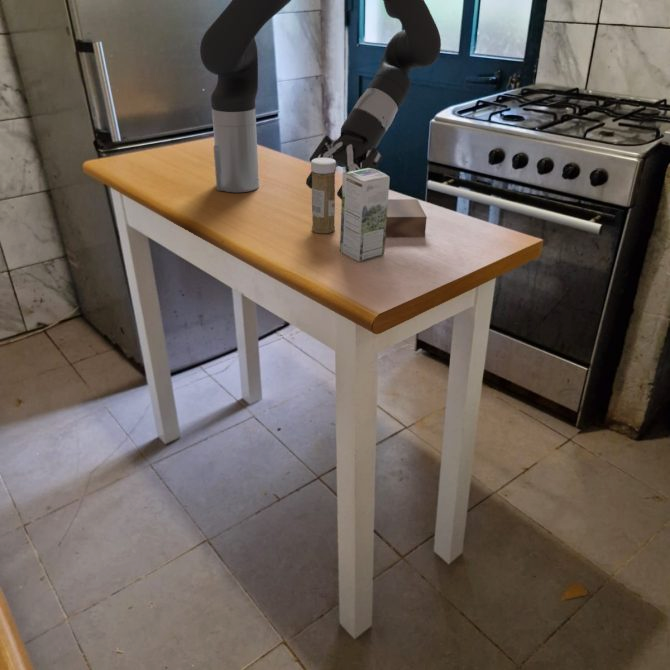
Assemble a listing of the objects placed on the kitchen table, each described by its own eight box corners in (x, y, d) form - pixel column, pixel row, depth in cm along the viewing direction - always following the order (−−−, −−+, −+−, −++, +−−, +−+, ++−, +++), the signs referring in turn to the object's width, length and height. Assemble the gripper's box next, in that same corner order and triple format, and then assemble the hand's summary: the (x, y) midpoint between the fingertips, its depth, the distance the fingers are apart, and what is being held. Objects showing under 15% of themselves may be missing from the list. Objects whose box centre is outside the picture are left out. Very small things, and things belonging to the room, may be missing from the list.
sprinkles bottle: (339, 232, 120) (340, 161, 113) (317, 236, 118) (317, 164, 111) (328, 224, 123) (329, 155, 117) (307, 227, 122) (306, 158, 115)
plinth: (372, 237, 118) (373, 217, 116) (366, 218, 126) (367, 199, 124) (424, 237, 118) (426, 216, 116) (415, 218, 127) (417, 199, 125)
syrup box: (364, 245, 115) (367, 166, 107) (385, 256, 111) (390, 174, 103) (339, 252, 112) (341, 171, 104) (360, 263, 108) (363, 180, 100)
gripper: (333, 101, 120) (288, 172, 119) (389, 113, 111) (341, 190, 110) (352, 126, 125) (309, 194, 124) (406, 139, 117) (361, 212, 116)
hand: (324, 192), depth 117 cm, fingers open, 8 cm apart
